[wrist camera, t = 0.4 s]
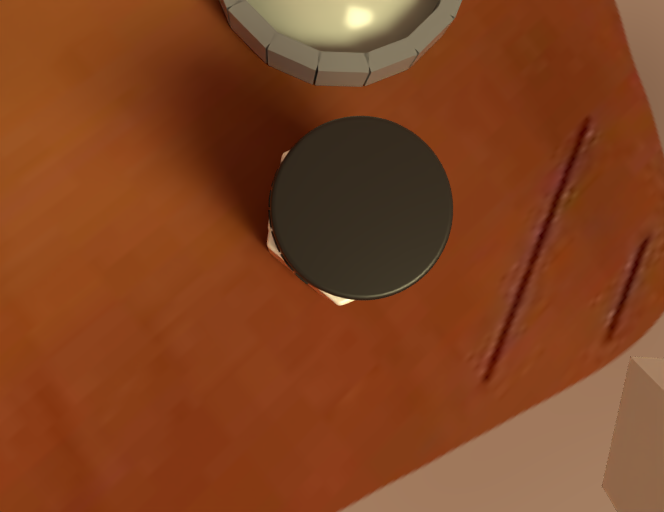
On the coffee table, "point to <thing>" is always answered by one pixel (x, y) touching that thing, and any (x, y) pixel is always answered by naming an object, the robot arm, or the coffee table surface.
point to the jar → (359, 209)
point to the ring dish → (340, 35)
